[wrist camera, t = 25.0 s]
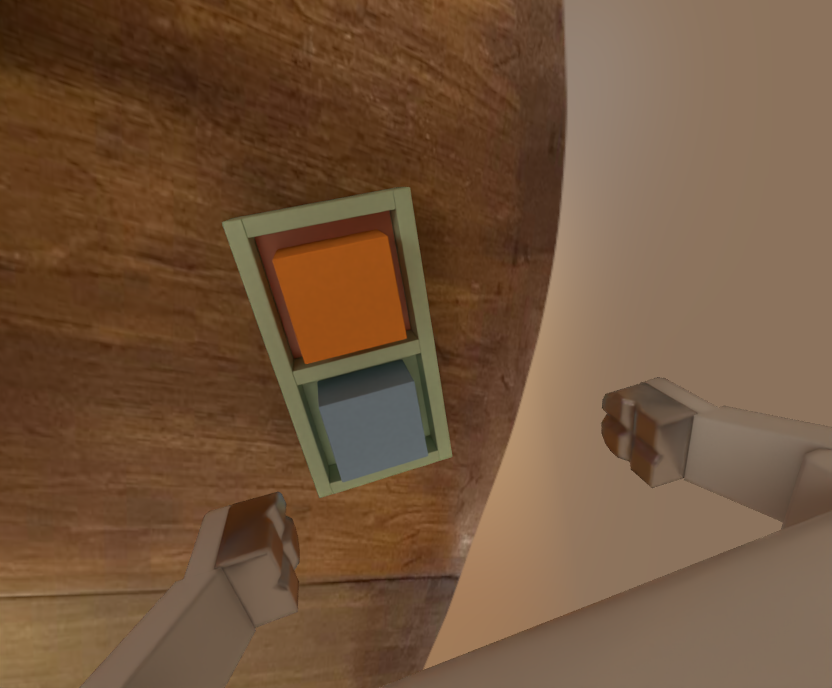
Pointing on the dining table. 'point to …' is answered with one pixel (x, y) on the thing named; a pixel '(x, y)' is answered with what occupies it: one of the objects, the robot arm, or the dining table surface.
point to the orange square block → (341, 294)
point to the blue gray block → (372, 419)
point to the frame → (298, 381)
